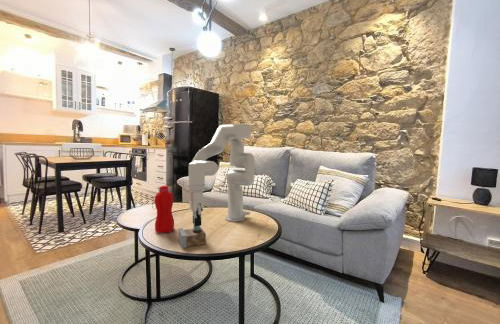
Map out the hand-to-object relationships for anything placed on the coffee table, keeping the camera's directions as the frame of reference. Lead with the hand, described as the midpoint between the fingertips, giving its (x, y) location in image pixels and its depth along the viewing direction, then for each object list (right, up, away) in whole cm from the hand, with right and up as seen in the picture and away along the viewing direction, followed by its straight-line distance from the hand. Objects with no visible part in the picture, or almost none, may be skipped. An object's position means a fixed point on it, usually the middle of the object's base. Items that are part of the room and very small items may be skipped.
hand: (196, 224), depth 114 cm
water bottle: (-22, -8, +15) cm, 27 cm away
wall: (-6, -9, -2) cm, 11 cm away
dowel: (0, -3, 0) cm, 3 cm away
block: (-1, -9, 0) cm, 9 cm away
